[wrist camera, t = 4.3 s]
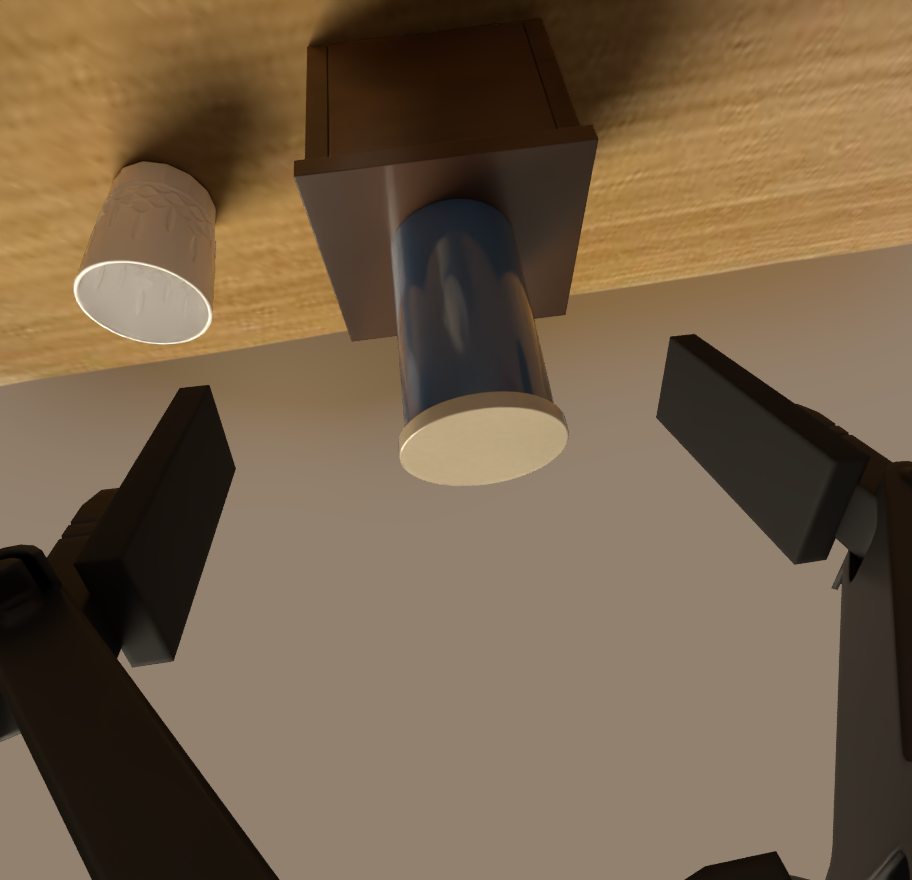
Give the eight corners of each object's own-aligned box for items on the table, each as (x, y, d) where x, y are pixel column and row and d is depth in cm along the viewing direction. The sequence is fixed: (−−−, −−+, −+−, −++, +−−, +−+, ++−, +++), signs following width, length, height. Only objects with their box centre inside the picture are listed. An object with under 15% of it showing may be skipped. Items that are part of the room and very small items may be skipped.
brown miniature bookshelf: (347, 219, 43) (351, 341, 38) (298, 39, 32) (293, 176, 26) (533, 196, 44) (565, 315, 38) (549, 9, 32) (598, 138, 27)
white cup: (156, 255, 44) (137, 355, 40) (75, 171, 37) (40, 280, 33) (245, 229, 43) (236, 329, 38) (178, 137, 36) (157, 245, 32)
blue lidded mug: (401, 335, 38) (417, 513, 32) (372, 201, 28) (386, 420, 22) (515, 321, 38) (553, 496, 32) (525, 183, 28) (581, 396, 22)
